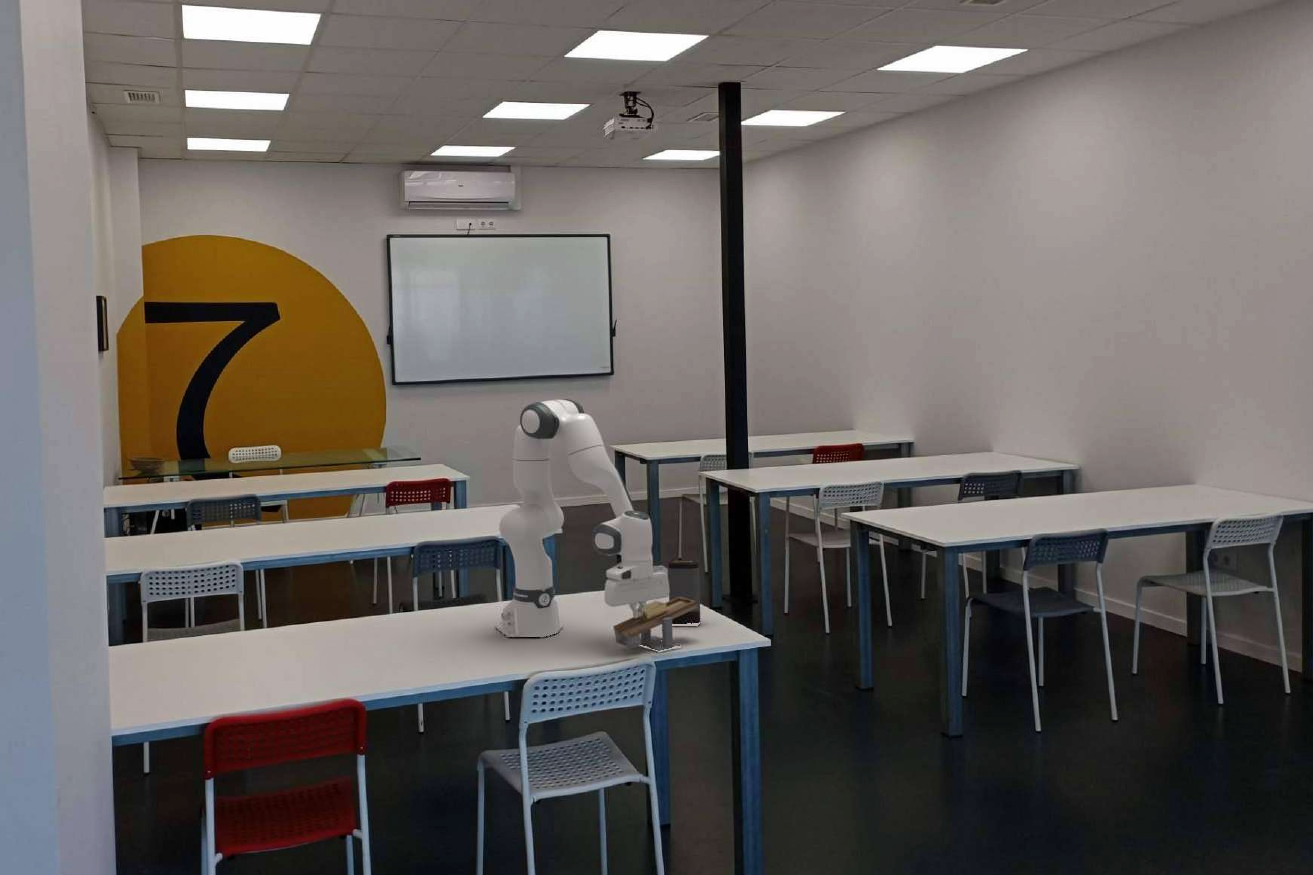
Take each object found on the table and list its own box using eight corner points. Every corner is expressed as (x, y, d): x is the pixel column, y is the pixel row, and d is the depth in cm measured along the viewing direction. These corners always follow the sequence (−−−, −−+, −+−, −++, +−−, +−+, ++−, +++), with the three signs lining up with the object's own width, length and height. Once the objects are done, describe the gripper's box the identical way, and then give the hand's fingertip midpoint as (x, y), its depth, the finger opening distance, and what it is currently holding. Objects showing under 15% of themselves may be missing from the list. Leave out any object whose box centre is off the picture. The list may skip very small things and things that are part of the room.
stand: (632, 643, 325) (631, 613, 325) (654, 639, 330) (654, 608, 329) (658, 653, 315) (658, 621, 314) (681, 648, 320) (680, 616, 319)
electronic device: (700, 622, 349) (699, 558, 347) (699, 627, 343) (698, 562, 341) (670, 622, 350) (669, 558, 348) (669, 627, 344) (667, 562, 342)
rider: (638, 620, 321) (636, 609, 321) (658, 611, 325) (655, 600, 325) (648, 623, 317) (646, 612, 317) (668, 615, 321) (665, 603, 320)
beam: (616, 642, 319) (613, 626, 318) (682, 612, 332) (679, 596, 331) (632, 648, 313) (629, 631, 312) (699, 617, 326) (696, 601, 325)
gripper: (660, 562, 326) (661, 609, 327) (601, 572, 314) (602, 620, 315) (673, 566, 320) (674, 613, 322) (613, 575, 309) (614, 625, 310)
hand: (638, 617), depth 318 cm, fingers closed
